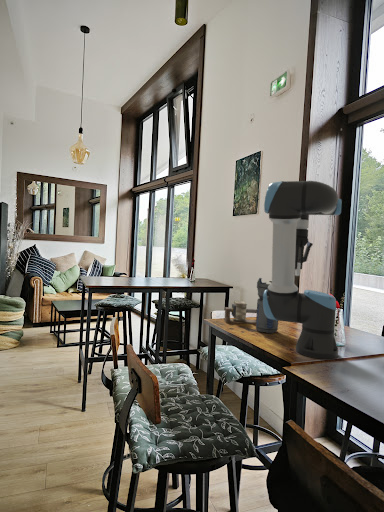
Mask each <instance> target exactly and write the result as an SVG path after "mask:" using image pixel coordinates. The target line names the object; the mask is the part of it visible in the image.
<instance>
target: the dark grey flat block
mask: <svg viewBox="0 0 384 512" xmlns="http://www.w3.org/2000/svg"><path fill="white" fill-rule="evenodd" d="M231 308H233V312H231V316H232V318H234V317H236V305H235V304H234V303H232V304H231Z"/></svg>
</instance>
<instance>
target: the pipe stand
mask: <svg viewBox="0 0 384 512" xmlns="http://www.w3.org/2000/svg"><path fill="white" fill-rule="evenodd" d="M232 312H233V308H232V307H229V306H228V307H227V306H225V307H224V319H223V320H224V323H226V324H242V323H243V324H245V325H256V319H247V318H246V321H242V320H235V319H234V318H231V313H232ZM246 314H257V308H246Z"/></svg>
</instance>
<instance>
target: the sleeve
mask: <svg viewBox="0 0 384 512" xmlns="http://www.w3.org/2000/svg"><path fill="white" fill-rule="evenodd" d="M233 304H235V305H236V317H233V319H235V320H242V321H246V319H247V318H246V317H247V313H246V309H247V303H246V302H245V301H243V300H234V301H233Z"/></svg>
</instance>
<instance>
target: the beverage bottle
mask: <svg viewBox="0 0 384 512" xmlns="http://www.w3.org/2000/svg"><path fill="white" fill-rule="evenodd" d="M262 279H263V278H262V277H259V278H258V280H257V282H256V288H257V296H258V298H257V302H256V309H257V313H256V319H255V320H256V324H255V330H257V332H260V333H263V332H266V333H265V334H274V333H277V331H278V329H279V328H278V327H279V321H276V320H273V319H269V318H267V317H266V315H265V313H264V309H263V294H264V291H265V290H267V289H268V286H269V285H270V284H271V283H272V280H269V283H267V282H262V281H263V280H262Z"/></svg>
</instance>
